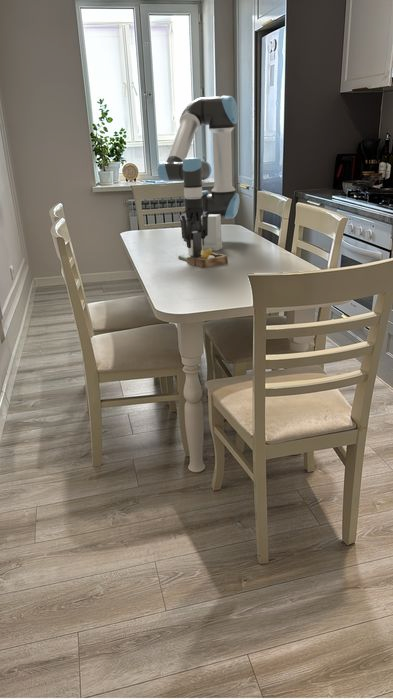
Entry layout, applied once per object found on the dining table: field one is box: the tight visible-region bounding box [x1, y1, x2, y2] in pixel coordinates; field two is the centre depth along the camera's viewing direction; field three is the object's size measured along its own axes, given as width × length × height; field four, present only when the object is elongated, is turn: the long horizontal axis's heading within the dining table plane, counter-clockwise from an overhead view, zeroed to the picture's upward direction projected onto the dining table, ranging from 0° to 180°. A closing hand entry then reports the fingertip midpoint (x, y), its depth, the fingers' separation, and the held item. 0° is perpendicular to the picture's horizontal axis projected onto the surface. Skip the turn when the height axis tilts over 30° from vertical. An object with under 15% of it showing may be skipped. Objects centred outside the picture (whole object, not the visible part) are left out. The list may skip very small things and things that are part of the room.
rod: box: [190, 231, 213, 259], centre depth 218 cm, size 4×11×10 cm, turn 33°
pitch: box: [177, 252, 229, 269], centre depth 219 cm, size 13×21×3 cm, turn 33°
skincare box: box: [201, 214, 223, 252], centre depth 237 cm, size 8×7×16 cm
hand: (195, 254), depth 222 cm, fingers closed on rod, 4 cm apart
